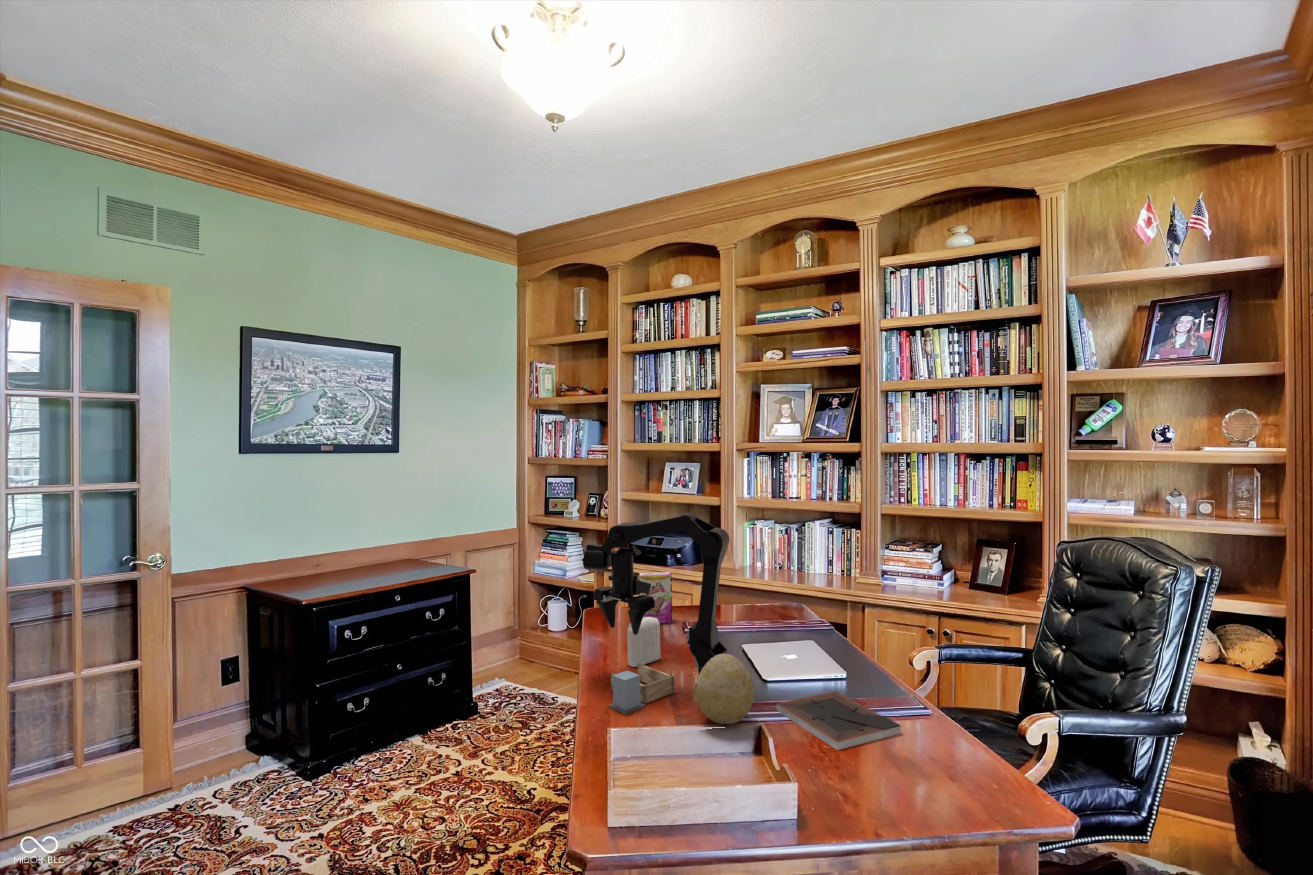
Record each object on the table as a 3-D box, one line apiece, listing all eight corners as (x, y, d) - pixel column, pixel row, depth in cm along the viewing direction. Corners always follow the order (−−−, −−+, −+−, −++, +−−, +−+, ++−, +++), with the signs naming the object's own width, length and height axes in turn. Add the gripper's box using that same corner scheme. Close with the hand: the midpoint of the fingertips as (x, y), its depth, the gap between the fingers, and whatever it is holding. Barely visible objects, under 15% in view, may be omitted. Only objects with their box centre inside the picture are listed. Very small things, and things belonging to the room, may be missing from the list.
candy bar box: (639, 625, 227) (637, 575, 227) (639, 621, 232) (638, 572, 232) (673, 624, 227) (671, 574, 227) (672, 619, 232) (671, 571, 232)
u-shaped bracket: (674, 692, 170) (673, 676, 169) (645, 703, 163) (644, 686, 163) (640, 679, 179) (639, 663, 179) (611, 689, 173) (610, 673, 172)
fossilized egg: (687, 716, 156) (686, 650, 155) (737, 706, 160) (736, 642, 160) (712, 739, 144) (710, 668, 143) (765, 728, 148) (763, 659, 148)
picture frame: (901, 736, 144) (835, 700, 164) (900, 724, 144) (835, 689, 164) (837, 753, 138) (776, 713, 157) (836, 741, 138) (776, 702, 157)
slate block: (640, 704, 161) (639, 675, 161) (625, 710, 158) (624, 680, 158) (627, 699, 165) (627, 670, 164) (613, 705, 162) (612, 675, 161)
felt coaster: (645, 706, 161) (645, 704, 161) (625, 714, 157) (625, 712, 157) (628, 699, 166) (628, 697, 166) (609, 707, 162) (609, 705, 162)
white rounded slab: (652, 655, 197) (651, 612, 197) (663, 659, 194) (661, 615, 194) (625, 665, 190) (624, 620, 189) (635, 669, 187) (634, 623, 186)
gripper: (669, 571, 179) (670, 631, 179) (622, 562, 193) (623, 617, 193) (637, 579, 171) (639, 641, 172) (591, 568, 185) (592, 626, 185)
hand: (623, 630), depth 181 cm, fingers open, 9 cm apart
